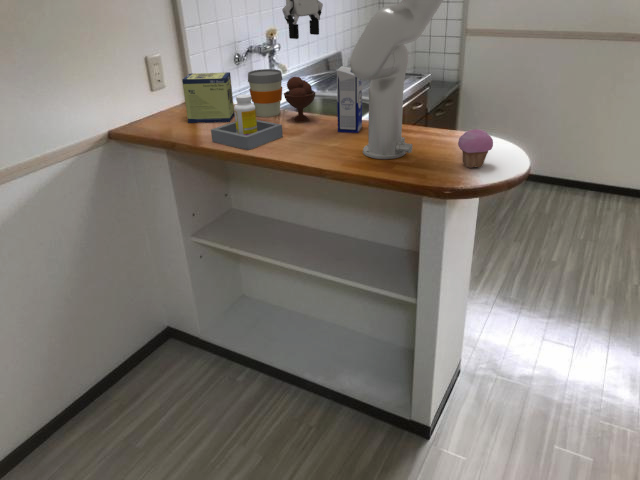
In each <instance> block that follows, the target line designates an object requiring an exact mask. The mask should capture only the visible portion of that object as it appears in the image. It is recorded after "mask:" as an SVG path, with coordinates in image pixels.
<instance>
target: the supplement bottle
mask: <svg viewBox="0 0 640 480" xmlns="http://www.w3.org/2000/svg"><path fill="white" fill-rule="evenodd" d="M235 100H236V102H237V103H236V104H235V105H234V114H235V115H234V122H236V131H237V133H238V134H243V135H249V134H252V133H255V132H257V121H256V120H257V115H256V110H255V105H254V103H253V102H252V99H251V95H250V94H238V95H236V97H235Z"/></svg>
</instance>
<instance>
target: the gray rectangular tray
mask: <svg viewBox="0 0 640 480" xmlns="http://www.w3.org/2000/svg"><path fill="white" fill-rule="evenodd" d="M256 121H257V132H255V133H252V134H249V135H243V134H238V133H237V131H236V122H235V121H231V122H228V123H227V124H223V125H220V126H217V127H215V128H211V129H210V133H211V141H212V143H216V144H220V145H225V146H229V147H233V148H237V149H241V150H245V151H250V150H253V149H255V148H258V147H261V146H263V145H265V144H268V143H271V142H273V141H276V140H279V139H280V138H281V139H282V138H283V137H284V136H283V135H284V133H283V124H281V123H276V122H270V121H265V120H260V119H256Z"/></svg>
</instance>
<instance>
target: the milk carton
mask: <svg viewBox="0 0 640 480" xmlns="http://www.w3.org/2000/svg"><path fill="white" fill-rule="evenodd" d="M336 96H337V97H336V102H337V133H352V134H356V133H357V134H358V133H359V132H360V131H361V129H362V128H363V80H361V79H358V78H357V77H356V76H355V75H354V74H353V72H352V70H351V67H348V66H347V67H346V66H343V65H341V66H340V67H339V68H338V69H336Z"/></svg>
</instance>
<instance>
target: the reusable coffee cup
mask: <svg viewBox="0 0 640 480" xmlns="http://www.w3.org/2000/svg"><path fill="white" fill-rule="evenodd" d="M282 81H283V75H282V71H281V70H280V69H273V68H268V69H267V68H264V69H255V70H250V71H249V72H247V82H248V85H249V95H251V103H253V104H254V105H255V110H256V117H261V118H263V117H264V118H270V117H271V118H272V117H275V116H279V115H280V114H281V113H280V112H281V101H282V99H283V98H282V97H283V86H282Z"/></svg>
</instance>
